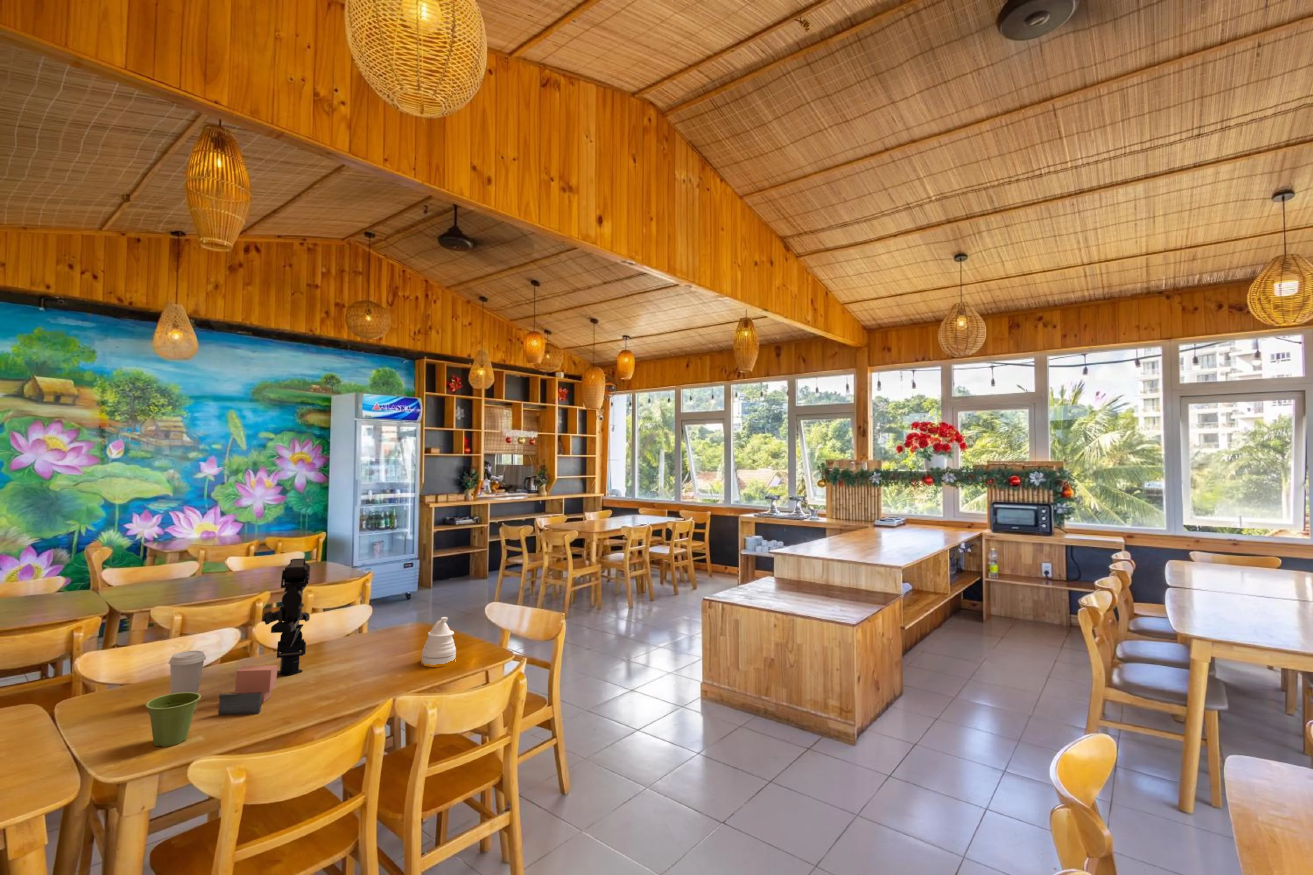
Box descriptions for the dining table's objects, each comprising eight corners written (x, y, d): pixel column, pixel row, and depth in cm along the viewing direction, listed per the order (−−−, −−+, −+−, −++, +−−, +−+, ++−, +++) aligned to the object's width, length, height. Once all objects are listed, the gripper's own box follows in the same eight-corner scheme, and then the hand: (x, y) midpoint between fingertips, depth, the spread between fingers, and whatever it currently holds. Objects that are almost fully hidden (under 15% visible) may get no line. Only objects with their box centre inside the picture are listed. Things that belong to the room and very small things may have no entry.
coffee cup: (160, 709, 185) (165, 659, 186) (169, 698, 193) (173, 651, 194) (199, 704, 189) (203, 656, 190) (205, 694, 198) (209, 648, 199)
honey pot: (462, 661, 242) (464, 616, 243) (435, 669, 231) (438, 622, 232) (441, 655, 249) (444, 611, 250) (414, 663, 238) (417, 617, 239)
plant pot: (131, 746, 160) (135, 703, 161) (180, 729, 171) (183, 689, 172) (159, 755, 156) (163, 710, 157) (207, 737, 167) (210, 696, 168)
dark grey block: (240, 698, 196) (241, 679, 196) (277, 696, 198) (278, 678, 198) (218, 715, 182) (219, 695, 182) (258, 713, 184) (259, 693, 184)
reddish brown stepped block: (241, 697, 195) (243, 665, 196) (275, 696, 197) (277, 664, 198) (233, 703, 190) (236, 670, 191) (268, 702, 193) (271, 669, 193)
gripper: (278, 596, 218) (274, 640, 217) (255, 608, 200) (251, 655, 199) (311, 596, 221) (308, 639, 220) (292, 607, 203) (288, 654, 201)
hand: (289, 647), depth 210 cm, fingers closed
